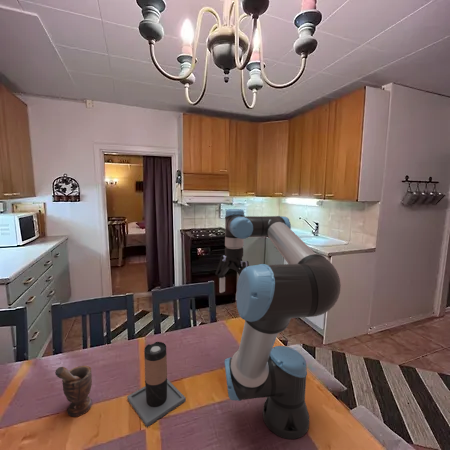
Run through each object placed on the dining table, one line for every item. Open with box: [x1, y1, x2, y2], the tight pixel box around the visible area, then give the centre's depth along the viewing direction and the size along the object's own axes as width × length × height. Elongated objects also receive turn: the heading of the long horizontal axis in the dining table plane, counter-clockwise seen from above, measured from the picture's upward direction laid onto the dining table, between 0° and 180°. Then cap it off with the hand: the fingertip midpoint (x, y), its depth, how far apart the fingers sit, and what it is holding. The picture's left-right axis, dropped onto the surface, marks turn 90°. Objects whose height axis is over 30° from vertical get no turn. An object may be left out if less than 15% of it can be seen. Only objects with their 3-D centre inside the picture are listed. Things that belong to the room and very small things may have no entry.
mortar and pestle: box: [54, 365, 93, 418], centre depth 85 cm, size 12×9×20 cm
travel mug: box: [143, 341, 168, 407], centre depth 90 cm, size 8×8×20 cm
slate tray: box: [127, 378, 187, 428], centre depth 91 cm, size 15×15×2 cm
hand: (233, 296), depth 106 cm, fingers open, 13 cm apart
